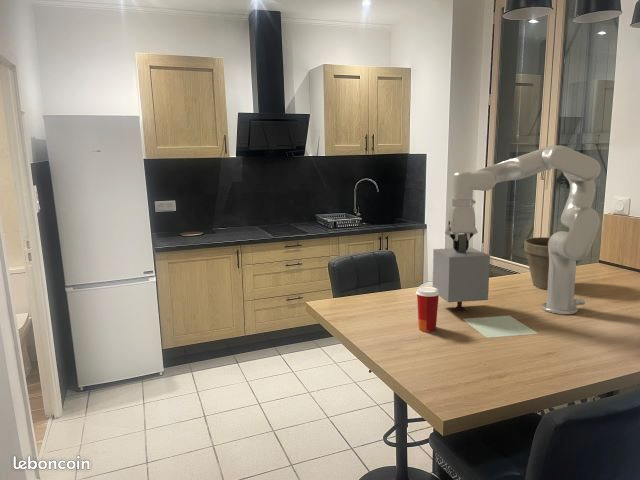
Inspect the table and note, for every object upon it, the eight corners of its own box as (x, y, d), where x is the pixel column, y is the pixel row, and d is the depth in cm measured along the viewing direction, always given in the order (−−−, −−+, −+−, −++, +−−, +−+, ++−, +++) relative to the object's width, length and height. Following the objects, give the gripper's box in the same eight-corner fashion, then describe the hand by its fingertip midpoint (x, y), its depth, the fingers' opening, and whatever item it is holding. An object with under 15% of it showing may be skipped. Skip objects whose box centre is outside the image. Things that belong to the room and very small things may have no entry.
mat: (509, 316, 176) (509, 315, 176) (538, 334, 157) (538, 333, 157) (462, 319, 174) (462, 318, 174) (486, 338, 155) (486, 337, 155)
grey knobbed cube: (469, 288, 192) (471, 230, 188) (488, 300, 176) (490, 237, 172) (432, 290, 190) (433, 232, 186) (448, 302, 174) (449, 238, 170)
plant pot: (592, 293, 202) (596, 245, 198) (536, 294, 203) (539, 247, 199) (563, 279, 227) (566, 236, 223) (513, 280, 227) (515, 237, 223)
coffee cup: (439, 326, 168) (440, 287, 165) (437, 334, 160) (438, 293, 158) (416, 324, 171) (417, 285, 168) (413, 332, 163) (414, 291, 160)
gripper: (477, 202, 182) (475, 247, 185) (438, 203, 180) (437, 249, 183) (486, 204, 174) (484, 250, 177) (446, 205, 172) (444, 252, 175)
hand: (460, 249), depth 180 cm, fingers closed on grey knobbed cube, 3 cm apart
